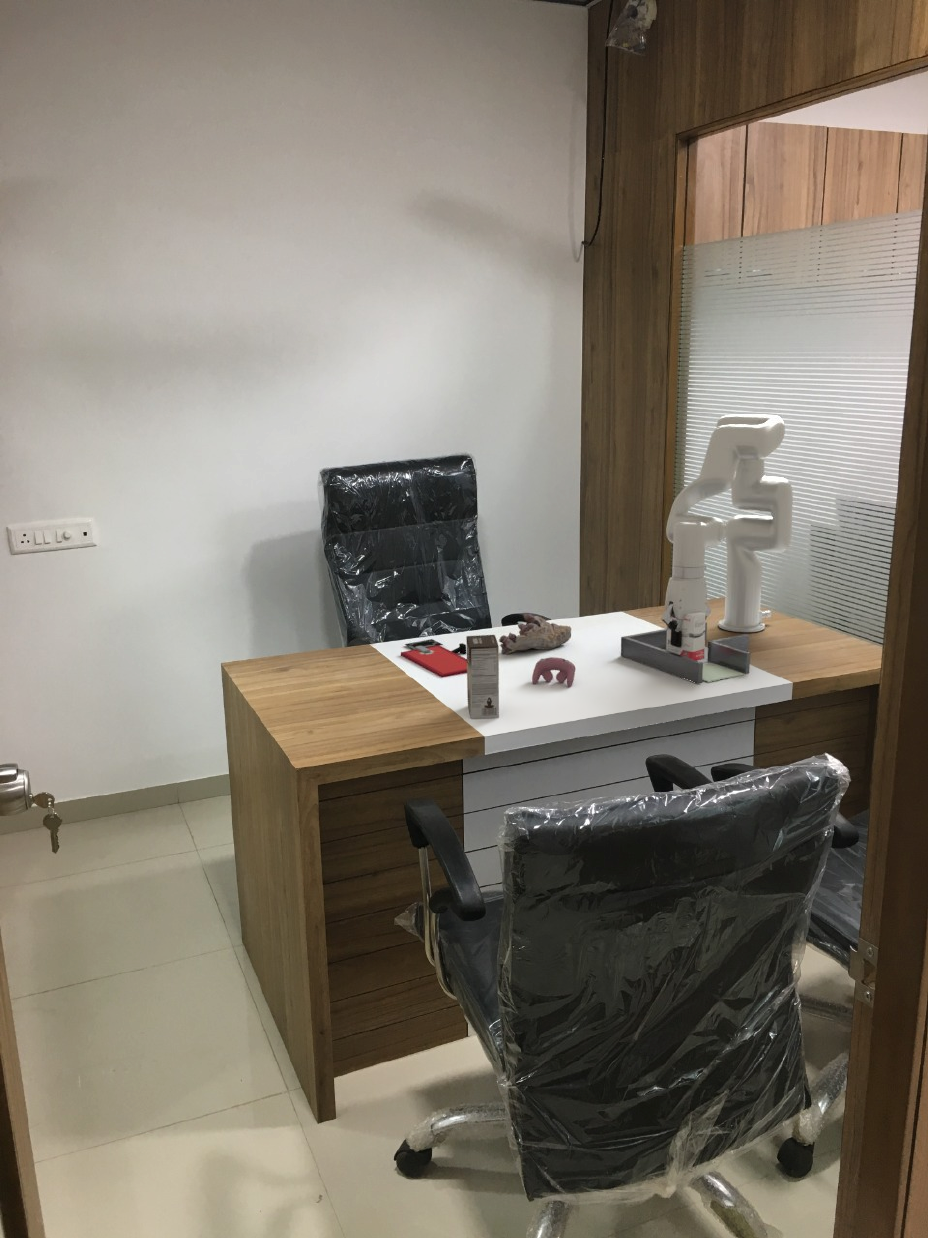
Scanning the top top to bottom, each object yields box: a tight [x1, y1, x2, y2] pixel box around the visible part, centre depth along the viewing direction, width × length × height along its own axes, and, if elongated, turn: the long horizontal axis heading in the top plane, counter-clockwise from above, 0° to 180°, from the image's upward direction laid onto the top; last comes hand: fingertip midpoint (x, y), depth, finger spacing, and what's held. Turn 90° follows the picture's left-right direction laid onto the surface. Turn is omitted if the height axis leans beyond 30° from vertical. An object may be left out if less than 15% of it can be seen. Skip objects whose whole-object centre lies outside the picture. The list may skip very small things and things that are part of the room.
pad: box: [702, 662, 744, 683], centre depth 242 cm, size 11×11×1 cm
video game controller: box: [531, 656, 576, 688], centre depth 237 cm, size 10×5×7 cm, turn 72°
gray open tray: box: [620, 621, 751, 684], centre depth 252 cm, size 28×28×5 cm
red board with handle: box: [400, 638, 467, 678], centre depth 258 cm, size 30×3×15 cm
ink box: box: [665, 612, 706, 661], centre depth 248 cm, size 8×5×12 cm, turn 39°
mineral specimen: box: [498, 613, 572, 655], centre depth 265 cm, size 20×10×10 cm
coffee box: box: [465, 634, 500, 720], centre depth 216 cm, size 9×6×16 cm
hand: (685, 643), depth 248 cm, fingers closed on ink box, 5 cm apart
